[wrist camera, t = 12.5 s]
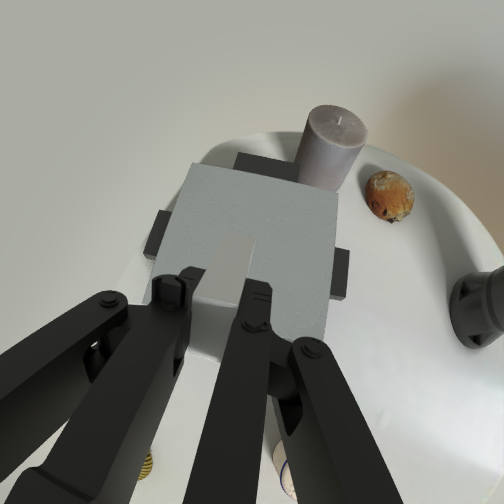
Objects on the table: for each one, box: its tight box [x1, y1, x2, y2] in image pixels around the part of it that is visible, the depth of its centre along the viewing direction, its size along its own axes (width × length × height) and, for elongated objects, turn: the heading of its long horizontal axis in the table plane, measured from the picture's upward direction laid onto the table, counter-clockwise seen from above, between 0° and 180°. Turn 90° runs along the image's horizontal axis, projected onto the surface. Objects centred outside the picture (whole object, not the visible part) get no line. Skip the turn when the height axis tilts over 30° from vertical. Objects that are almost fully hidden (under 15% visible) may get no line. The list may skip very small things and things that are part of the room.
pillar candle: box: [294, 105, 368, 192], centre depth 44 cm, size 10×10×15 cm
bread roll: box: [366, 171, 414, 224], centre depth 49 cm, size 10×10×8 cm
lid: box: [142, 152, 338, 342], centre depth 31 cm, size 18×21×1 cm
